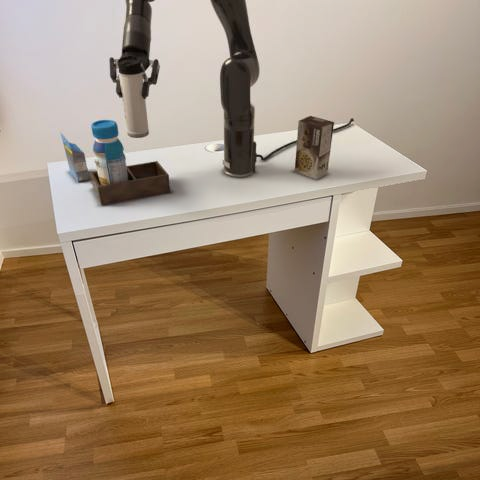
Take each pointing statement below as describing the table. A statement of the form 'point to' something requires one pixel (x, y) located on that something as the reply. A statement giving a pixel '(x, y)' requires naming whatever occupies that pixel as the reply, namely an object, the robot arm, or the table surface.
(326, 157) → the coffee box
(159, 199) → the table surface
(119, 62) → the travel mug
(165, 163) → the table surface
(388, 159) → the table surface
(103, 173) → the beverage bottle
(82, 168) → the blue hanging retail box
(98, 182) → the caddy
